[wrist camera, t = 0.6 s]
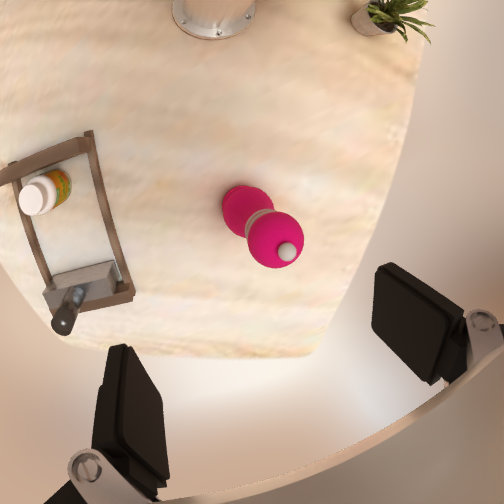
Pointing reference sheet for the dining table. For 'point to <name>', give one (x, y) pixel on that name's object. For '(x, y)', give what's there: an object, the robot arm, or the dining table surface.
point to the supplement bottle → (44, 192)
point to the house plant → (387, 17)
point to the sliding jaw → (78, 292)
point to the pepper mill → (263, 226)
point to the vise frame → (87, 145)
